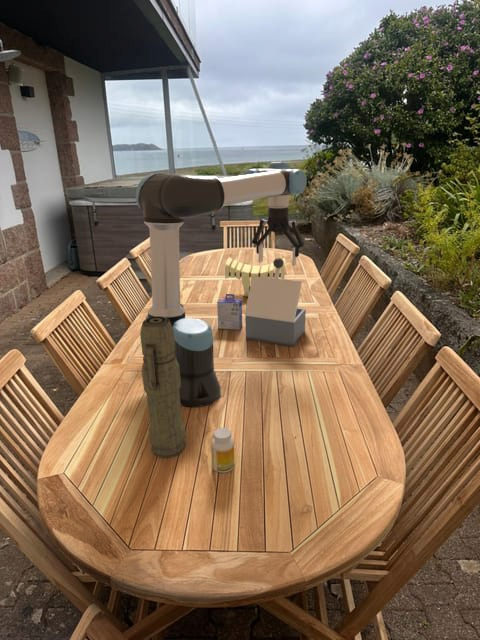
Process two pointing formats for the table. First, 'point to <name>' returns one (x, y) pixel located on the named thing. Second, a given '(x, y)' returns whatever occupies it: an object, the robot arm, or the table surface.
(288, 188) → the robot arm
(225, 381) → the table surface
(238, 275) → the slatted curved stool
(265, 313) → the lid
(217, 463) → the supplement bottle
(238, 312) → the ink cartridge box
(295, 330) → the carton
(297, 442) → the table surface
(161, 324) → the thermos
